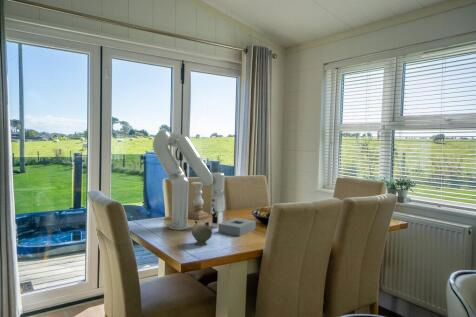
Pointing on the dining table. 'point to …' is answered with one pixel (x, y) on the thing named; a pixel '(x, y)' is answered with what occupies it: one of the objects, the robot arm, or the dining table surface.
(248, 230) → the grey flat block
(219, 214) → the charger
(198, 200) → the candle holder
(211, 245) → the dining table surface
